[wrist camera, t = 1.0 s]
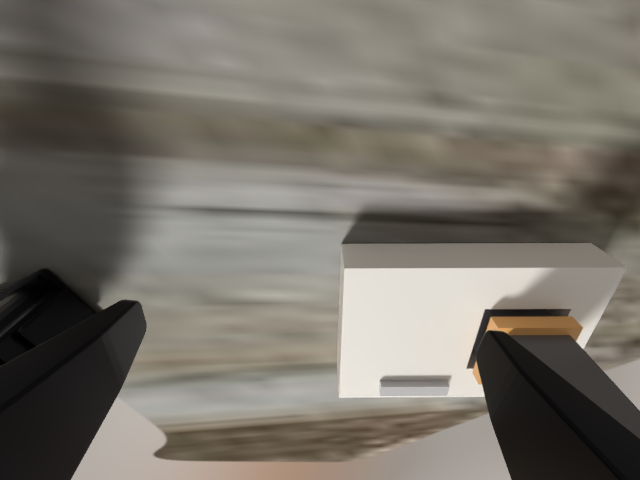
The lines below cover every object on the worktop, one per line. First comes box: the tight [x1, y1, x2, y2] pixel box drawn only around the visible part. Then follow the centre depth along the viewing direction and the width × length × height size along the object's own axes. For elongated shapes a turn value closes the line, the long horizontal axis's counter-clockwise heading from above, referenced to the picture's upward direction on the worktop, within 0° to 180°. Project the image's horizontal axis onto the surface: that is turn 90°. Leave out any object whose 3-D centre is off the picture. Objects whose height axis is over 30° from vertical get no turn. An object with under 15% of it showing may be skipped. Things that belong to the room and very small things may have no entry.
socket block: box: [337, 243, 628, 398], centre depth 23 cm, size 17×12×4 cm
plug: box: [472, 309, 640, 438], centre depth 19 cm, size 5×5×13 cm
